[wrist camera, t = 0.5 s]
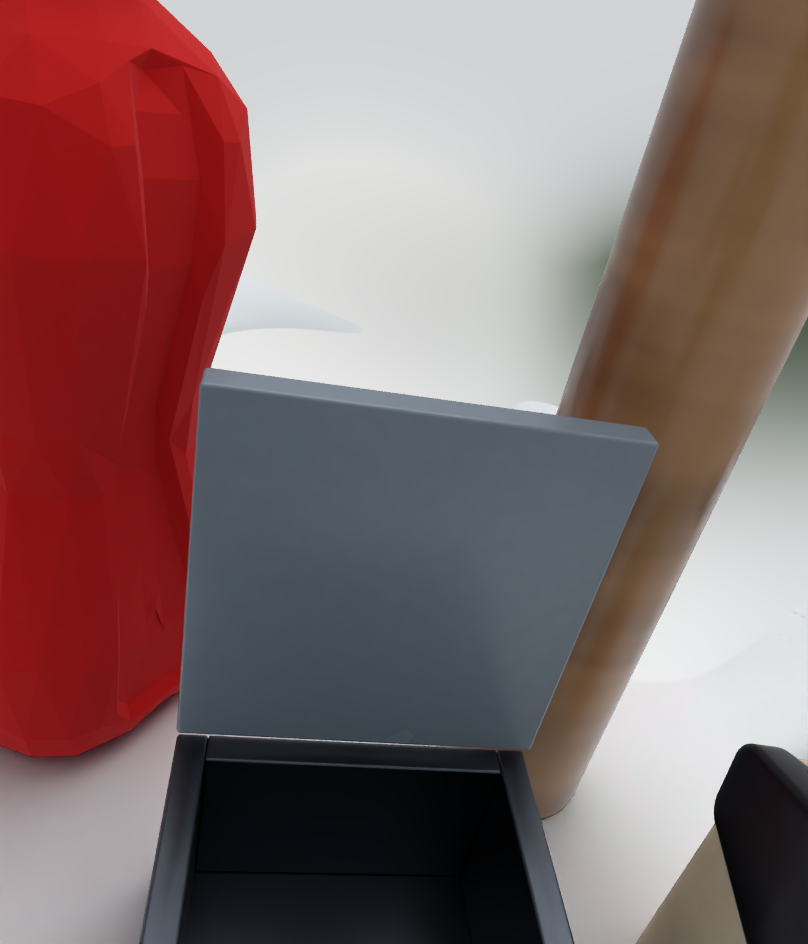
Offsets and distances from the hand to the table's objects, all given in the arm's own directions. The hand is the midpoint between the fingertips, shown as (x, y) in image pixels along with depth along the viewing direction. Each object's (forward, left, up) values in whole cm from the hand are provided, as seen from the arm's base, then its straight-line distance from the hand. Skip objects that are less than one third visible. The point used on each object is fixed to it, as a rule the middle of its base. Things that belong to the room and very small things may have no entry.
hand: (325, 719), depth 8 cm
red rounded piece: (+16, +7, -17) cm, 24 cm away
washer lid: (+8, -3, -5) cm, 10 cm away
